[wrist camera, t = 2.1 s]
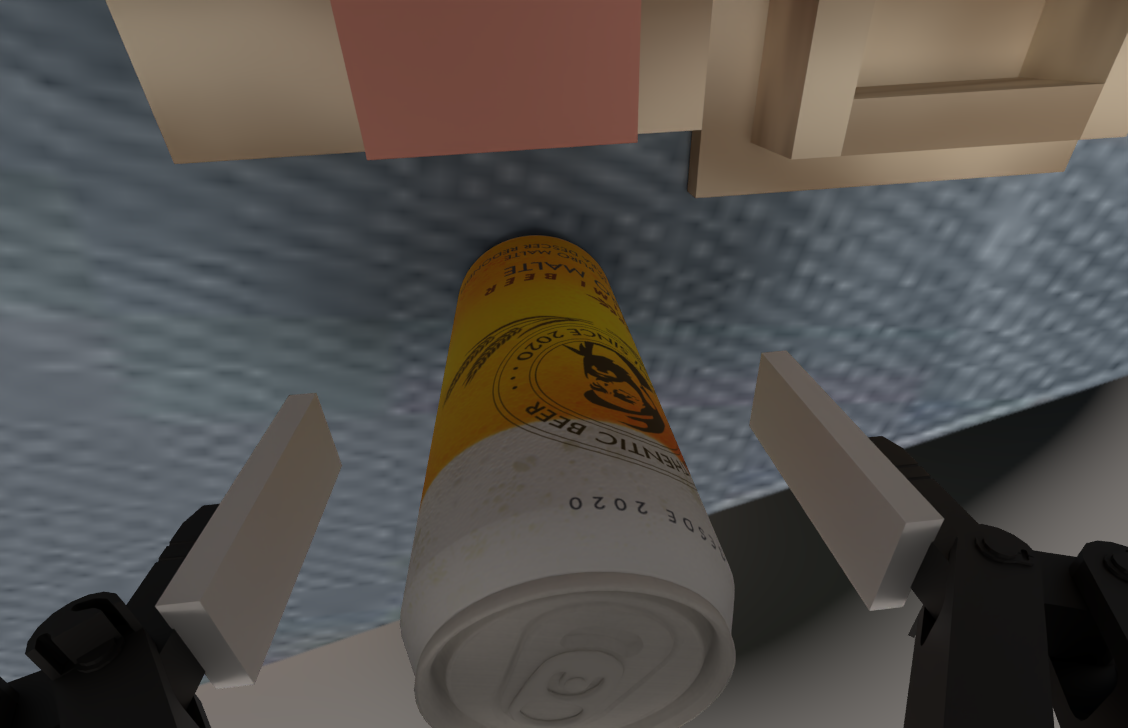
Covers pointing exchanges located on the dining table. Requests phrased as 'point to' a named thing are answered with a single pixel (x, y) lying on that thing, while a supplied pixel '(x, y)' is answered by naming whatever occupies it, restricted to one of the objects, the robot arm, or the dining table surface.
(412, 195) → the dining table surface
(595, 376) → the beer can
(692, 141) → the dock
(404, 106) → the salmon pink block
